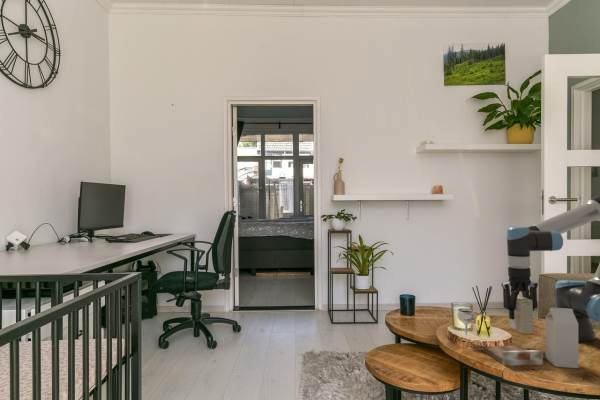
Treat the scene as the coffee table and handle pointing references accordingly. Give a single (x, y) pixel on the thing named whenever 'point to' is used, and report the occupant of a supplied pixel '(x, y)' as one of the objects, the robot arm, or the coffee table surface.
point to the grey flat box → (514, 355)
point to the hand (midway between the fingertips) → (521, 326)
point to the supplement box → (523, 316)
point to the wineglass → (466, 316)
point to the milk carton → (562, 338)
